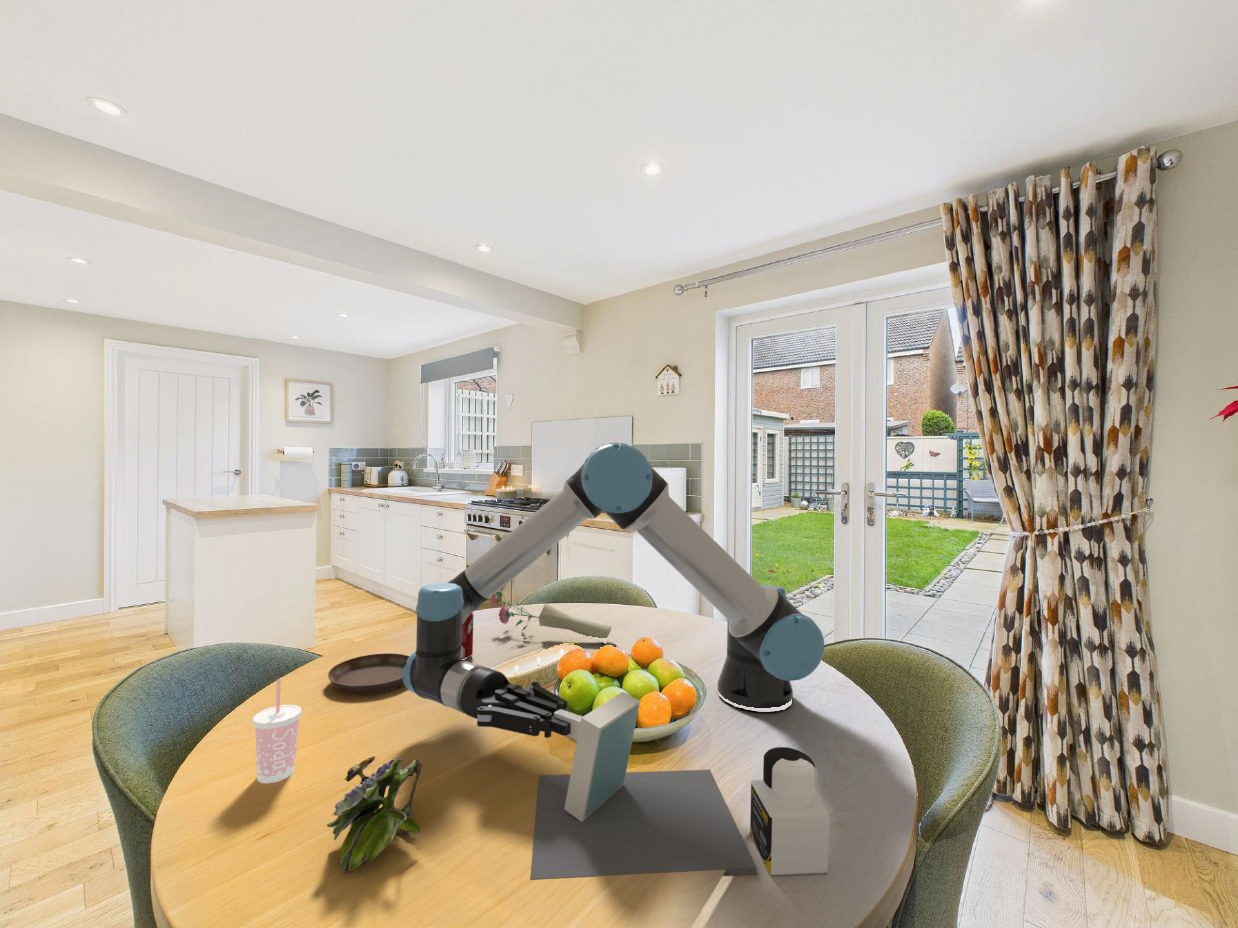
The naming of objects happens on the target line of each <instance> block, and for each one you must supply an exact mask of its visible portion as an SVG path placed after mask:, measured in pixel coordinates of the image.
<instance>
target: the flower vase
mask: <svg viewBox="0 0 1238 928" xmlns="http://www.w3.org/2000/svg"><path fill="white" fill-rule="evenodd" d="M501 597H503V599H504V600H503V601H502V600H500V599H499V598H501ZM490 603H491V604H492V606H495V605H498V603H502V604H501V605H502V606H501V608H500V609H499V613H498V617H499V621H500V623H502V624H504V625H506V624H508V622H509V621H510V618H511V617H515V616H524V617H527V623H526V625H524V626H525V627H524V626H523V628H522V629H523V630H524V629H527V627H529V626H530V624H529V625H528V623H529V622H531V619H533V618H536V620H535V622H536V621H538V622H539V623H538V624H539V626H540V627H547V628H555V629H560V630H561V629H562V630H568V631H571V632H574V633H577V634H579V635H581V634H583V635H582V636H584V635H586V636H585V637H587V636H592V637H598V638H607V637H608V635H609V633H610V634H611V631H612V626H611V625H607V624H603V623H602V624H601V623H599V622H598V623H597V622H593V621H589V620H585V619H580V618H577V617H573V616H571V615H569V614H567V613H565V612H563V611H561V610H559V609H557V608H555V607H553V606H551V605H549V604H547V603H544V605H543V607H542V609H541V612H540V613H539V616H537V615H535V616H534V615H533V614H531V613H529V612H528V611H526V609H525V608H524V607H522V606H519V599H517V602H516V606H515V605H513V604H511V603H510V602H506V600H505V596H504V595H503V592H502V591H501V589H500V590H499V591H497V592H496V593H495V594H494V595H492V596H491V599H490ZM506 604H507V605H506ZM513 607H514V608H513ZM519 607H520V608H519ZM512 608H513V610H515V611H517V612H516V613H514V612H512V611H509V610H510V609H512ZM516 609H517V610H516ZM518 611H520V613H518ZM523 622H526V620H522V619H520V620H518V622H517V623H516V624H515V627H517V626H518V625H520V624H522V623H523ZM522 629H521V631H523V630H522ZM609 636H610V635H609Z"/></svg>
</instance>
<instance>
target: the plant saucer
mask: <svg viewBox="0 0 1238 928" xmlns="http://www.w3.org/2000/svg"><path fill="white" fill-rule="evenodd" d="M410 656H411V655H406V654H401V653H393V652H391V653H386V652H385V653H372V654H366V655H361V656H360V655H359V656H357V657H353V658H349V659H347V660H344V661H341V662H339V663H338V664H337V663H336V665H334V666H333V667H332V668H330V669H329V671H328V673H327V679H329V681H330V682H331V684H333V685H334V687H335V688H337V690H339V691H341V692H344V693H345V692H346V694H351V695H370V694H371V695H372V693H373V694H378V693H377V692H379V693H383V691H384V692H387V691H386V690H388V691H390V689H391V690H394V689H397V688H399V687H400V685H401V686H403V685H404V682H403V678H402V673H403V668H404V667H405V665H406V661H407V659H408V658H409V657H410ZM402 684H403V685H402ZM396 687H397V688H396ZM393 688H394V689H393Z"/></svg>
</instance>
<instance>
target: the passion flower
mask: <svg viewBox="0 0 1238 928" xmlns="http://www.w3.org/2000/svg"><path fill="white" fill-rule="evenodd" d="M375 759H376V756H374V755H373V756H370V757H368V758H366V759H363V760H362V761H360V763H359V764H355V765H354V766H352V767H350V768H349V769H348V770H347V772H346V773H347V774H346V776H345V777H344V780H346V782H350V781H352V780H353V779H354V778H356V777H357V776H359V777H360V779H361V780H360V783H359V785H358V786H356V785H355V786H354V787H353V788H352V789H351V790H350V791H349V792H347V793H346V794H344V798H343V799H341V800H339V801H338V802H337V803H336V804H335V805H334V808H335V811H334V812H333V813H332V814H330V816H332V815H333V817H335V816H337V817H336V818H335V819H334V820H333V821H330V822H328V823H327V824H326V827H327V828H333V830H332V834H333V835H334V836H333V839H334V840H333V841H337V839H338V837H339V836H340V834H341V833H342V831H344V830H346V828H348V827H349V825H350V828H349V830H348V832H347V834H346V836H345V838H344V840H343V843H342V847H341V851H340V854H339V865H340V868H341V869H340V870H341V871H342V872H343V873H346V870H347V865H348V871H354V870H355V869H357V868H358V867H360V866H361V865H363V863H364V862H371V861H373V860H374V859H375V858H377V857H378V856H379V855H380V854H381V852H383V850H384V849H386V847H387V846H388V843H390V842H391V843H395V841H396V839H397V833H398V832H399V829H402V830H403V831H404V832H406V835H408V836H409V835H410V834H411V833H413V834H418V833H421V827H420V826H419V824H418V823H417V822H416V821H415V819H414V818H412V816H411V815H412V808H413V806H412V805H413V804H412V802H413V798H414V794H415V792H416V787H417V784H418V781H419V777H420V775H421V772H422V771H421V770H422V767H423V764H422V762H421V761H420V759H419V757H417V758H416V759H414V760H413V761H412V762H411V764H409V765H408V766H406V767H403V768H401V765H402V763H403V760H402V759H400V758H398V757H395V758H393V759H391V760H389V761H388V763H387V762H386V763H383V765H382V766H379V767H378V768H377V770H376V771H375V772H374V773H371V775H370V776H366V775H365V774H364V772H363V771H364V770H365V769H366V768H367V767H368V766H369V765H370V764H372V763H373V762H374V761H375ZM414 774H416V776H415V779H414V781H413V782H414V783H413V786H412V789H411V793H410V796H409V798H408V801H407V803H406V805H405V806H404V807H403V808H401V809H400V808H399V807H398V808H396V807H395V799H396V797H397V795H398V793H399V790H400V788H401V786H402V784H403V783H404V782H405V781H406V780H407V779H408V778H409V777H410V778H411V777H413V776H414ZM387 787H388V790H387ZM386 790H387V796H386V795H385V794H386ZM389 841H390V842H389ZM406 842H407V844H409V843H410V841H406Z"/></svg>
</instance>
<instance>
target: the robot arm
mask: <svg viewBox="0 0 1238 928" xmlns="http://www.w3.org/2000/svg"><path fill="white" fill-rule="evenodd" d="M669 489H670V487H669V483H668V481H667V480H665V479H664V478H663V476H661V475H660V474H659V472H658V471H656V470H655V468H653V467H652V466H651V464H650V463H649V460H647V458H646V456H645V455H644V453H642V451H640V450H639V449H637V448H636V447H634V445H629V444H627V443H623V442H608V443H605V444H602V445H600V446H598V447H597V448H595V449H593V451H592V452H590V454H589V455H588V457H586V459H585V460H584V463H583V464H582V465H581V466H580V467H579V468H578V470H577V471H575V472H574V473H573V474H572V476H570V477H569V478H567V479H566V480H565V481H564V483H563V488H562V490H561V491H559V493H557V494H556V495H554V496H553V497H552V498H551V499H550V500H549V501H547V502H546V503H545V504H544V505H543V506H541V507H539V509H537V510H536V511H534V513H532V514H531V515H530V516H529V517H528V518H527V519H525V520H524V521H522V523H520V524H519V525H518V526H517V527H516V528H514V529H513V530H512V531H510V532H508V534H507V535H506V536H505V537H503V538H501V540H500V541H498V542H497V543H496V544H494V545H493V546H492V547H491V548H489V550H487V551H486V552H484V553H483V554H482V555H481V556H480V557H478V558H477V559H476V560H475V561H473V563H471V564H470V565H468V567H466V568H465V569H464V570H463V571H462V572H460V573H459V574H458V575H457V576H454V578H453V579H450V580H449V581H448V582H438V583H431V584H427V585H424V586H422V587H421V588H420V589H419V591H418V592H417V602H416V603H417V604H416V606H415V612H416V638H415V639H416V640H415V641H416V648H415V651H414V652H413V653H412V654H410V655H409V656H410V657H409V658H408V659H407V661H406V665H405V667H404V668H403V673H402V678H403V682H404V684H403V685H404V686H405V688H406V689H408V690H409V691H410V692H411V693H414V694H416V696H418V697H420V698H422V699H425V700H426V699H427V700H430V701H433V702H435V703H438V704H441V705H443V706H445V707H448V708H450V709H452V710H455V711H457V712H459V713H462V714H465V715H467V716H468V717H471V718H473V719H476V723H477V724H476V726H477V727H479V728H482V727H483V728H484V727H486V728H496V729H499V730H503V731H509V732H512V733H518V734H523V735H525V736H526V735H527V736H531V737H539V735H540V733H541V732H543V733H544V738H551V737H552V732H553V733H555V734H558V735H561V736H564V737H568V738H570V739H572V740H575V741H577V738H578V733H579V727H580V722H581V718H582V717H583V715H579V714H576V713H573V712H571V711H568V700H566V699H564V698H562V697H560V696H558V695H557V694H556V693H554V692H551V691H550V690H548V689H546V688H544V687H543V686H541V684H540V683H539V682H537V681H532V682H531V684H530V686H529V687H524V688H523V686H522V685H520V684H511V683H510V682H509V680H508V678H507V677H506V675H505V674H504V673H503V672H501V671H498V670H497V669H496V670H495V669H492V668H489V667H485V666H483V665H480V664H477V663H474V662H470V661H468V660H467V661H466V660H462V659H461V648H462V644H461V641H462V625H463V623H464V622H465V621H466V619H467V618H468V616H469V615H470V614H471V613H473V612H475V611H476V610H477V609H478V608H480V606H483V604H484V603H486V602H487V601H488V600H489V599H490V598H492V597H493V596H494V595H496V594H497V593H496V592H497V591H499V590H500V591H501V590H502V588H504V586H507V585H508V583H510V582H511V581H512V580H514V579H515V578H516V577H517V576H519V574H521V573H522V572H523V571H525V570H526V569H527V568H528V567H529V566H531V565H532V564H533V563H535V562H536V560H538V559H539V558H540V557H542V556H543V555H544V554H545V553H547V552H548V551H550V549H552V548H553V547H554V546H555V545H557V543H559V542H560V541H561V540H562V539H564V538H565V537H566V536H568V535H569V534H570V533H572V532H573V531H574V530H575V529H576V528H577V527H579V526H580V525H581V524H582V523H583V522H585V521H586V520H588V519H590V520H594V519H596V518H597V517H599V516H600V515H601V514H603V513H605V515H606V516H607V517H609V518H610V520H612V521H613V522H614V523H615V524H616V525H617V526H618V527H619V528H620V529H622V531H635V532H637V533H638V535H640V536H641V537H642V538H643V539H644V541H646V543H648V544H649V546H651V547H652V548H653V549H654V550H655V551H656V552H657V553H658V554H660V556H661V557H662V558H663V559H664V560H666V562H668V563H669V565H671V566H672V568H674V569H675V571H677V572H678V573H679V574H680V575H681V576H682V577H684V579H685V580H686V581H687V582H688V583H689V584H690V585H691V586H692V587H693V588H695V590H697V592H699V593H700V594H701V596H702V597H704V598H705V600H707V601H708V602H709V603H710V604H711V605H712V606H713V607H714V608H715V609H716V610H717V611H718V612H719V613H721V615H722V616H723V617H725V619H726V620H727V624H726V625H727V628H726V630H727V631H726V632H727V633H726V634H727V636H726V637H727V638H726V657H725V661H724V662H723V663H724V664H723V667H722V669H721V672H720V675H719V678H718V680H717V692H718V691H719V693H720V694H721V695H722V696H723V697H724V698H725V699H728V700H729V701H731V702H733V703H736V704H738V705H743V706H746V707H754V708H771V707H780V706H782V705H785V704H786V703H788V702H789V701H791V699H792V698H793V699H794V691H793V687H792V684H791V682H794V681H800V680H802V679H804V678H806V677H808V676H809V675H811V674H812V673H814V671H816V669H817V668H818V667H819V665H820V664H821V662H822V659H823V656H824V653H825V649H824V648H825V639H824V636H823V632H822V631H821V629H820V627H819V626H818V625H817V624H816V622H815V621H814V620H813V619H812V618H811V617H809V616H807V615H805V614H803V613H802V612H801V611H799V610H798V609H797V608H796V606H795V605H793V604H792V603H791V602H790V601H789V600H788V597H787V596H788V595H787V593H786V589H785V588H784V587H781V586H777V585H776V586H775V585H766V584H760V583H759V582H758V581H757V580H755V578H753V576H751V574H749V572H747V570H746V569H744V567H742V566H741V565H740V564H739V563H738V562H737V561H736V560H735V559H734V558H733V557H732V556H731V555H730V554H729V553H728V552H727V551H726V550H725V549H724V548H723V547H721V545H719V544H718V542H717V541H716V540H715V539H713V537H711V536H710V535H709V533H708V532H706V530H704V529H703V528H702V527H701V525H700V524H698V523H697V522H696V521H695V520H694V519H693V518H692V517H691V516H690V515H689V514H688V513H687V512H686V511H685V510H684V509H683V508H682V507H681V506H680V505H679V504H678V503H677V502H676V501H675V500H674V499H673V498H672V497H670V493H669Z"/></svg>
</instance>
